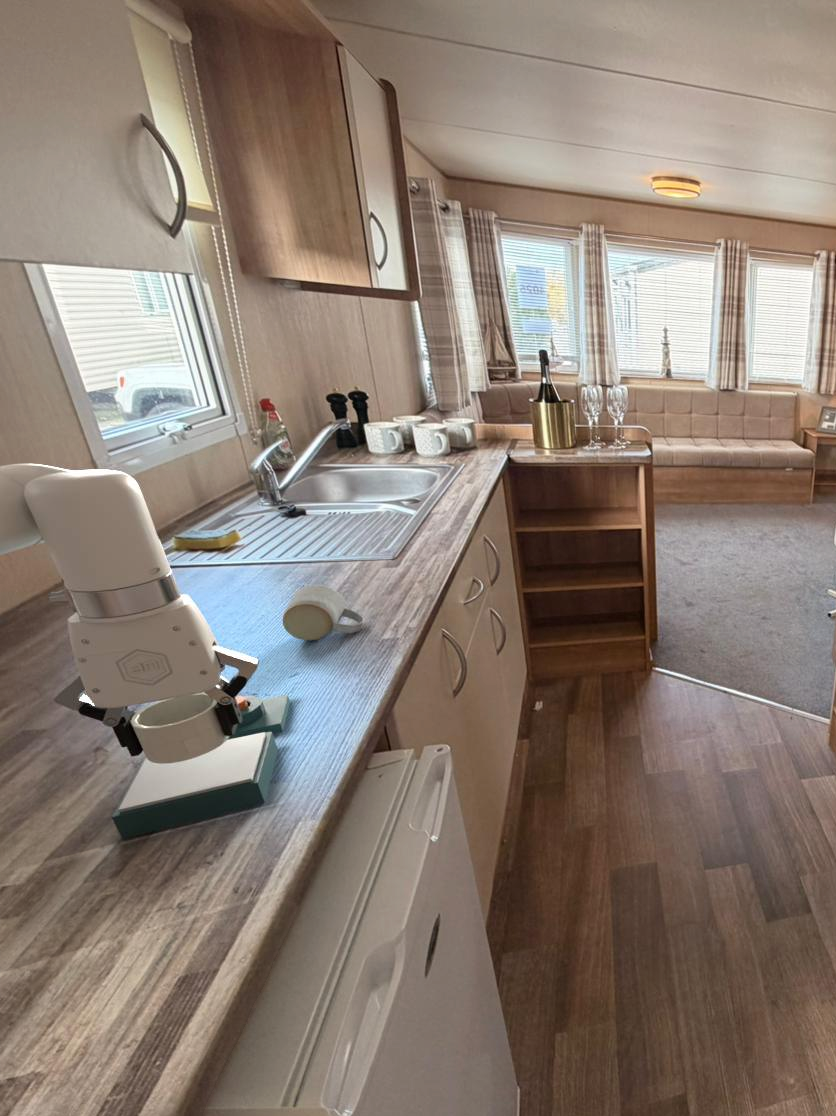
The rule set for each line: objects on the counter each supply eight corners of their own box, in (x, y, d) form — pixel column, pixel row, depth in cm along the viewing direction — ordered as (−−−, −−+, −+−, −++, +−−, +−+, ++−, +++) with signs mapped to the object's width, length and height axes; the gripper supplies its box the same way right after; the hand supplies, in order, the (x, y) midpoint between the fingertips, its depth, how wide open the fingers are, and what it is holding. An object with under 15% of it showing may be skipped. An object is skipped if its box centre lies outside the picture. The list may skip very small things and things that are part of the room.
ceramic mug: (285, 646, 106) (273, 604, 103) (299, 625, 113) (288, 585, 110) (360, 638, 110) (351, 597, 107) (369, 619, 117) (360, 580, 114)
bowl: (137, 771, 67) (120, 735, 65) (156, 735, 73) (141, 701, 71) (223, 752, 71) (210, 717, 69) (236, 719, 76) (224, 686, 74)
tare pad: (184, 753, 80) (176, 733, 79) (199, 720, 87) (192, 701, 85) (283, 732, 85) (276, 713, 84) (290, 702, 91) (284, 684, 90)
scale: (121, 839, 67) (109, 814, 66) (152, 778, 76) (142, 755, 74) (265, 803, 73) (256, 779, 72) (278, 750, 82) (270, 728, 80)
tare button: (219, 717, 83) (215, 709, 82) (223, 707, 85) (220, 698, 85) (246, 712, 84) (243, 703, 84) (250, 702, 87) (247, 693, 86)
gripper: (-18, 625, 57) (65, 782, 64) (230, 593, 66) (279, 736, 73) (20, 595, 63) (92, 742, 70) (243, 570, 71) (288, 703, 79)
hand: (187, 738), depth 71 cm, fingers closed on bowl, 7 cm apart
